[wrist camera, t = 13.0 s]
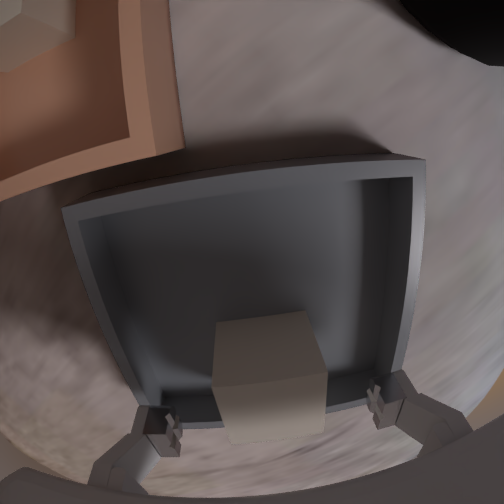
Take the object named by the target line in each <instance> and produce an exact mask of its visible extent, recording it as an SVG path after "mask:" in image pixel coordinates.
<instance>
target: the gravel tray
mask: <svg viewBox="0 0 504 504" xmlns="http://www.w3.org/2000/svg"><path fill="white" fill-rule="evenodd" d="M425 200H426V160H425V159H421V158H416V157H411V156H406V155H401V154H396V153H379V154H354V155H337V156H322V157H310V158H298V159H288V160H278V161H269V162H260V163H252V164H244V165H237V166H229V167H222V168H216V169H209V170H203V171H197V172H191V173H185V174H179V175H174V176H168V177H163V178H158V179H152V180H147V181H143V182H138V183H133V184H128V185H124V186H119V187H115V188H111V189H106V190H102V191H98V192H94V193H90V194H88V195H86V196H84V197H82V198H80V199H78V200H76V201H74V202H72V203H70V204H68V205H66V206H64V207H62V208H61V211H62V215H63V219H64V223H65V227H66V230H67V234H68V237H69V241H70V244H71V247H72V251H73V254H74V257H75V260H76V263H77V266H78V269H79V272H80V275H81V278H82V281H83V284H84V286H85V289H86V292H87V295H88V297H89V300H90V302H91V305H92V308H93V310H94V313H95V315H96V317H97V320H98V322H99V325H100V327H101V329H102V332H103V334H104V336H105V338H106V341H107V343H108V345H109V347H110V349H111V351H112V354H113V356H114V358H115V360H116V362H117V364H118V366H119V368H120V370H121V372H122V374H123V376H124V378H125V380H126V382H127V384H128V385H129V387H130V389H131V391H132V393H133V395H134V396H135V398H136V400H137V402H138V404H139V405H157V406H174V407H175V409H176V415H177V416H179V417H180V419H181V422H182V427H183V429H204V428H223V427H225V426H224V424H223V421H222V418H221V415H220V412H219V409H218V406H217V403H216V400H215V397H214V394H213V391H212V388H211V386H212V372H213V358H214V345H215V332H216V322H222V321H231V320H239V319H247V318H255V317H263V316H270V315H277V314H284V313H291V312H297V311H304V310H306V313H307V316H308V318H309V321H310V324H311V326H312V329H313V332H314V335H315V337H316V340H317V343H318V346H319V348H320V351H321V354H322V357H323V359H324V362H325V365H326V368H327V371H328V380H327V396H326V410H325V414H327V413H331V412H336V411H341V410H345V409H349V408H353V407H357V406H361V405H365V404H367V403H366V393H367V390H368V389H369V386H368V382H369V379H370V378H373V377H377V376H380V375H384V374H387V373H391V372H395V371H398V370H401V369H402V365H403V361H404V357H405V352H406V348H407V344H408V339H409V334H410V329H411V324H412V319H413V314H414V308H415V302H416V296H417V290H418V283H419V275H420V267H421V258H422V248H423V237H424V222H425Z"/></svg>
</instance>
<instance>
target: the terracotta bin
mask: <svg viewBox="0 0 504 504" xmlns="http://www.w3.org/2000/svg"><path fill="white" fill-rule="evenodd" d="M183 148H186V145H185V139H184V132H183V125H182V118H181V110H180V103H179V95H178V87H177V79H176V70H175V62H174V53H173V43H172V33H171V22H170V11H169V0H76V17H75V38H74V39H71V40H69V41H67V42H65V43H62V44H60V45H58V46H56V47H54V48H52V49H50V50H48V51H46V52H44V53H42V54H40V55H38V56H36V57H34V58H32V59H31V60H29V61H27V62H25V63H23V64H22V65H20V66H18V67H16V68H15V69H13V70H11V71H10V72H8V73H7V72H0V201H3V200H5V199H8V198H11V197H13V196H16V195H19V194H21V193H24V192H27V191H30V190H33V189H36V188H39V187H42V186H45V185H48V184H51V183H54V182H57V181H60V180H63V179H67V178H70V177H73V176H77V175H80V174H84V173H87V172H91V171H95V170H98V169H102V168H106V167H110V166H114V165H118V164H122V163H126V162H130V161H135V160H139V159H144V158H148V157H153V156H157V155H161V154H164V153H168V152H172V151H175V150H179V149H183Z"/></svg>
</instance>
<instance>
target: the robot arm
mask: <svg viewBox="0 0 504 504" xmlns="http://www.w3.org/2000/svg"><path fill="white" fill-rule="evenodd" d="M368 386H369V389H368V390H367V393H366V403H367V406H368V409H369V411H370V412H372V413H374V415H373V421H374V423H375V425H376V428H377V430H378V429H382V428H385V427H389V426H392V425H395V426H397V427H398V428H400V429H401V430H402V431H404V432H405V433H407V434H408V435H409V436H411V437H412V438H414V439H415V440H417V441H418V442H420V443H421V444H423V447H422V449H421V450H420V452H419V454H418V456H417V457H418V458H415V459H413V460H410V461H408V462H405V463H402V464H399V465H397V466H394V467H391V468H388V469H385V470H382V471H379V472H375V473H372V474H369V475H365V476H362V477H358V478H355V479H351V480H347V481H343V482H339V483H334V484H330V485H325V486H321V487H315V488H310V489H305V490H299V491H292V492H285V493H278V494H269V495H259V496H247V497H228V498H186V497H168V496H156V495H148V492H147V491H146V490H145V489H144V488H143V487H142V486H141V485H140V483H141V482H142V481H143V479H144V478H145V477H146V476H147V475H148V473H149V472H150V471H151V470H152V469H153V467H154V466H155V465H156V464H157V462H158V461H159V460H160V459H161V457H180V450H181V444H180V442H179V439H180V438H181V437H182V434H183V427H182V422H181V419H180V417H179V416H177V415H176V409H175V407H174V406H157V405H140V406H139V407H138V409H137V412H136V416H135V419H134V423H133V427H132V430H131V434H127V435H125V436H124V437H123V438H122V439H121V440H120V441H119V442H117V443H116V444H115V445H114V446H113V447H112V448H111V449H109V450H108V451H107V452H106V453H105V454H104V455H102V456H101V457H100V458H99V459H98V460H97V461H95V462H94V464H93V468H92V471H91V474H90V477H89V481H88V484H82V483H78V482H74V481H71V480H66V479H63V478H60V477H56V476H53V475H50V474H47V473H43V472H40V471H37V470H35V469H32V468H29V467H23V468H20V469H18V470H17V471H15V472H13V473H12V474H10V475H8V476H7V477H5V478H4V479H3V480H2V481H1V482H0V504H504V414H502V415H500V416H499V417H497V418H496V419H494V420H492V421H491V422H489V423H487V424H485V425H484V426H482V427H480V428H479V429H477V430H475V431H473V430H472V428H471V426H470V425H469V423H468V422H467V420H466V418H465V417H464V415H463V414H462V412H460V411H458V410H456V409H453V408H451V407H449V406H447V405H445V404H443V403H441V402H439V401H436V400H434V399H432V398H430V397H428V396H426V395H424V394H422V393H420V394H418V393H417V391H416V389H415V388H414V386H413V385H412V383H411V381H410V380H409V378H408V377H407V375H406V373H405V372H404V370H402V369H401V370H398V371H395V372H391V373H387V374H384V375H380V376H377V377H373V378H370V379H369V382H368Z"/></svg>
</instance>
